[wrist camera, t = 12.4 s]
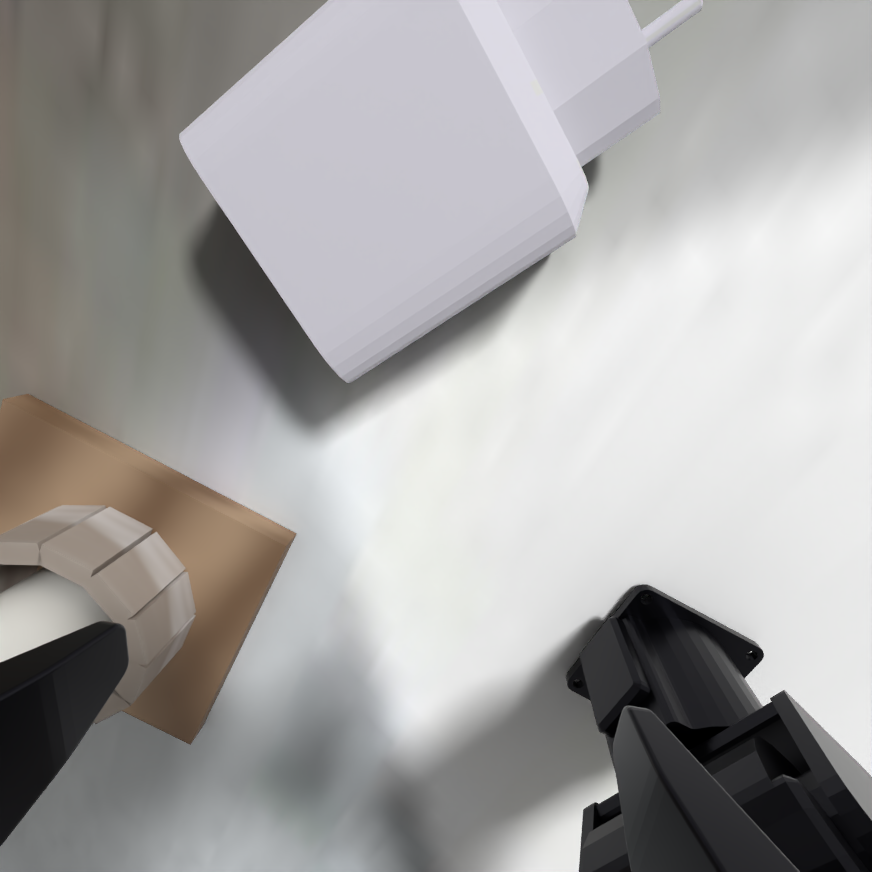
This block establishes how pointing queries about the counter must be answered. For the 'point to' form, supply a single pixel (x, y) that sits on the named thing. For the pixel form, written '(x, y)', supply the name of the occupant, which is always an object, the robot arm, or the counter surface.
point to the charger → (421, 153)
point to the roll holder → (136, 556)
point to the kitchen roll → (43, 612)
